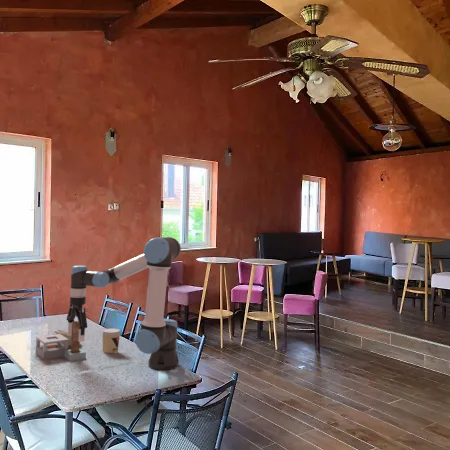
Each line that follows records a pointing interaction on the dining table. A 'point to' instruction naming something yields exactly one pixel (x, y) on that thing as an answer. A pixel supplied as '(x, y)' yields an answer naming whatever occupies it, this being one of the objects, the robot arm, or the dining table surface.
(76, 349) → the brown wooden bar
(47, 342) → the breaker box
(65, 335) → the bowl
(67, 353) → the holder
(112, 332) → the coffee cup
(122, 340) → the dining table surface
